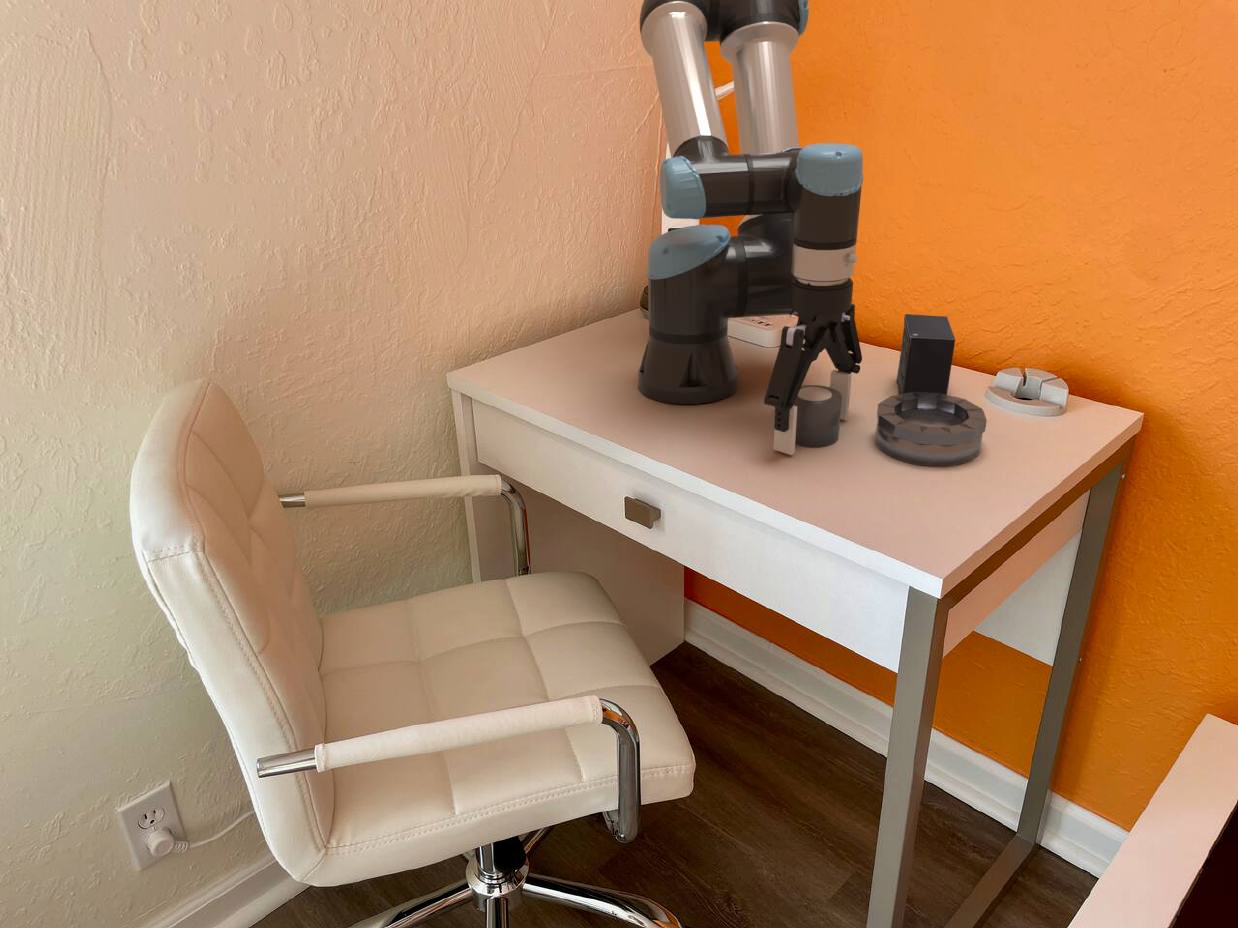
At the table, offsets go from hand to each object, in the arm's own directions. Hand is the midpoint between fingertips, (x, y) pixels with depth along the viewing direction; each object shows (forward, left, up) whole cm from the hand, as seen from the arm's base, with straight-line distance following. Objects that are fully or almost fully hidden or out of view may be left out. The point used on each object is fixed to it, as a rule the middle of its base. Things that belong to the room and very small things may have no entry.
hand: (811, 433), depth 123 cm
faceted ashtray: (+13, +7, 0) cm, 15 cm away
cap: (0, 0, 0) cm, 0 cm away
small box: (+5, +22, -1) cm, 23 cm away
